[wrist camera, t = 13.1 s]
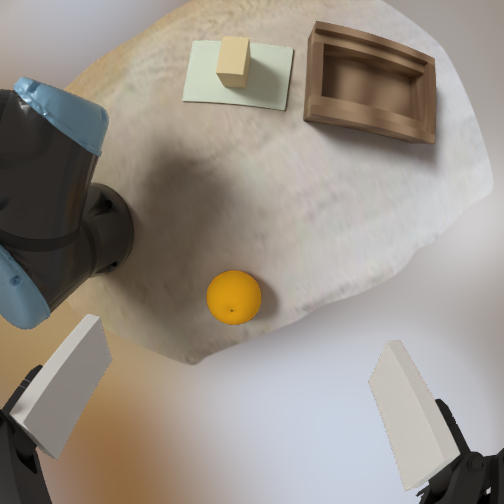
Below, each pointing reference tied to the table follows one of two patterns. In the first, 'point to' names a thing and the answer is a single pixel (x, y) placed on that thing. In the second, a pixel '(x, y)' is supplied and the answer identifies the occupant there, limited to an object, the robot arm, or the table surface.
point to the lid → (238, 73)
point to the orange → (233, 297)
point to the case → (369, 84)
